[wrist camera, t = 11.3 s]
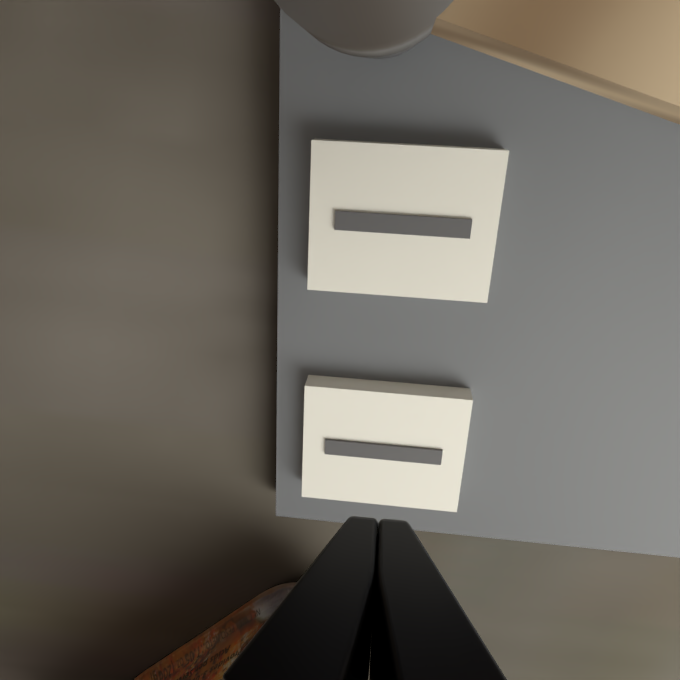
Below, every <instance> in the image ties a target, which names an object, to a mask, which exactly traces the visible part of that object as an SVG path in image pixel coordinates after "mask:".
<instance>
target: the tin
mask: <svg viewBox="0 0 680 680" xmlns="http://www.w3.org/2000/svg"><path fill="white" fill-rule="evenodd" d="M295 584H296V582H295V583H284V584H280V585H278V586H275V587H272V588H270V589H268V590H266V591H264V592H263V593H261V594H259V595H258V596H256V597H255V598H253V599H252V600H250V601H249V602H247V603H246V604H244V605H243V606H241V607H240V608H238V609H237V610H235V611H234V612H232V613H231V614H229V615H228V616H226V617H225V618H223V619H222V620H220V621H219V622H218V623H216V624H214V625H213V626H212V627H210V628H208V629H207V630H205V631H204V632H203V633H201V634H200V635H198V636H197V637H195V638H194V639H192V640H191V641H189V642H188V643H186V644H185V645H183V646H181V647H180V648H178V649H177V650H175V651H174V652H172V653H171V654H169V655H168V656H166V657H165V658H163V659H162V660H160V661H159V662H157V663H156V664H154V665H153V666H151V667H150V668H148V669H147V670H145V671H144V672H143V673H141V674H140V675H139V676H137V677H136V678H135V679H134V680H219V679H223V674H224V673H225V672H226V670H227V669H228V668H229V667H230V665H231V664H232V663H233V662H234V660H235V659H236V658H237V657H238V655H239V654H240V653H241V652H242V650H243V649H244V648H245V647H246V645H247V644H248V643H249V642H250V640H251V639H252V638H253V637H254V635H255V634H256V633H257V632H258V630H259V629H260V628H261V627H262V625H263V624H264V623H265V622H266V620H267V619H268V618H269V617H270V615H271V614H272V613H273V612H274V610H275V609H276V608H277V607H278V605H279V604H280V603H281V602H282V600H283V599H284V598H285V597H286V595H287V594H288V593H289V592H290V590H291V589H292V588H293V587H294V585H295Z"/></svg>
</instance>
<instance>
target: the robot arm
mask: <svg viewBox="0 0 680 680" xmlns="http://www.w3.org/2000/svg"><path fill="white" fill-rule="evenodd" d="M371 635H372V636H371ZM370 650H371V654H370ZM369 665H370V679H369V680H507V679H506V677H505V676H504V674H503V673H502V671H501V669H500V668H499V666H498V665H497V663H496V661H495V660H494V658H493V657H492V655H491V653H490V652H489V650H488V649H487V647H486V646H485V644H484V642H483V641H482V639H481V638H480V636H479V634H478V633H477V631H476V630H475V628H474V626H473V625H472V623H471V622H470V620H469V618H468V617H467V615H466V614H465V612H464V610H463V609H462V607H461V606H460V604H459V602H458V601H457V599H456V598H455V596H454V594H453V593H452V591H451V590H450V588H449V586H448V585H447V583H446V582H445V580H444V578H443V577H442V575H441V574H440V572H439V570H438V569H437V567H436V566H435V564H434V562H433V561H432V559H431V558H430V556H429V555H428V553H427V551H426V550H425V548H424V547H423V545H422V543H421V542H420V540H419V539H418V537H417V535H416V534H415V532H414V531H413V529H412V527H411V526H410V524H409V523H408V522H407V521H405V520H396V519H381V520H380V521H379V523H378V521H377V519H376V518H373V517H361V516H351V517H349V518H348V519H347V520H346V522H345V523H344V524H343V525H342V527H341V528H340V529H339V530H338V532H337V533H336V534H335V535H334V537H333V538H332V539H331V540H330V542H329V543H328V544H327V545H326V547H325V548H324V549H323V550H322V552H321V553H320V554H319V555H318V557H317V558H316V559H315V560H314V562H313V563H312V564H311V565H310V567H309V568H308V569H307V570H306V572H305V573H304V574H303V575H302V577H301V578H300V579H299V580H298V582H297V583H296V584H295V585H294V587H293V588H292V589H291V590H290V592H289V593H288V594H287V595H286V597H285V598H284V599H283V600H282V602H281V603H280V604H279V605H278V607H277V608H276V609H275V610H274V612H273V613H272V614H271V615H270V617H269V618H268V619H267V620H266V622H265V623H264V624H263V625H262V627H261V628H260V629H259V630H258V632H257V633H256V634H255V635H254V637H253V638H252V639H251V640H250V642H249V643H248V644H247V645H246V647H245V648H244V649H243V650H242V652H241V653H240V654H239V655H238V657H237V658H236V659H235V660H234V662H233V663H232V664H231V665H230V667H229V668H228V669H227V670H226V672H225V673H224V674H223V679H219V680H368V676H369Z"/></svg>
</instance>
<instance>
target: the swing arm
mask: <svg viewBox="0 0 680 680" xmlns="http://www.w3.org/2000/svg"><path fill="white" fill-rule="evenodd" d="M274 1H275V2H276V3H277V4H278V5H279V7H280V8H281V9H282V10H283V11H284V12H285V13H286V14H287V15H288V16H289V17H290V18H292V19H293V20H294V21H295V22H296V23H298V24H299V25H300V26H301V27H302V28H304V29H305V30H306V31H307V32H308V33H310V34H311V35H312V36H313V37H314V38H316V39H317V40H318V41H319V42H321V43H323V44H324V45H326V46H327V47H329V48H331V49H334V50H336V51H338V52H340V53H344V54H347V55H351V56H357V57H364V58H368V57H383V56H389V55H393V54H396V53H399V52H402V51H404V50H406V49H409V48H411V47H413V46H415V45H416V44H418V43H419V42H421V41H422V40H424V39H426V38H427V37H428V36H429V35H430V34H432V35H435V36H438V37H441V38H443V39H446V40H449V41H452V42H454V43H457V44H460V45H463V46H465V47H468V48H471V49H474V50H476V51H479V52H482V53H485V54H487V55H490V56H493V57H496V58H498V59H501V60H504V61H507V62H509V63H512V64H515V65H518V66H520V67H523V68H526V69H529V70H531V71H534V72H537V73H539V74H542V75H545V76H548V77H550V78H553V79H556V80H559V81H561V82H564V83H567V84H570V85H572V86H575V87H578V88H581V89H583V90H586V91H589V92H592V93H594V94H597V95H600V96H603V97H605V98H608V99H611V100H614V101H616V102H619V103H622V104H625V105H627V106H630V107H633V108H636V109H638V110H641V111H644V112H647V113H649V114H652V115H655V116H657V117H660V118H663V119H666V120H668V121H671V122H674V123H677V124H679V125H680V0H274Z"/></svg>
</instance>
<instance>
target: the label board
mask: <svg viewBox="0 0 680 680" xmlns="http://www.w3.org/2000/svg"><path fill="white" fill-rule="evenodd" d="M276 516H283V517H293V518H302V519H312V520H322V521H331V522H341V523H345V522H346V520H347V519H348V518H349V517H351V516H361V517H373V518H376V519H377V521H378V523H379V521H380V520H381V519H396V520H405V521H407V522H408V523H409V524H410V526H411V527H412V529H413V530H418V531H428V532H438V533H447V534H457V535H467V536H476V537H486V538H496V539H505V540H515V541H525V542H534V543H544V544H554V545H563V546H573V547H583V548H592V549H602V550H612V551H621V552H631V553H641V554H650V555H660V556H670V557H679V558H680V125H679V124H677V123H674V122H671V121H668V120H666V119H663V118H660V117H657V116H655V115H652V114H649V113H647V112H644V111H641V110H638V109H636V108H633V107H630V106H627V105H625V104H622V103H619V102H616V101H614V100H611V99H608V98H605V97H603V96H600V95H597V94H594V93H592V92H589V91H586V90H583V89H581V88H578V87H575V86H572V85H570V84H567V83H564V82H561V81H559V80H556V79H553V78H550V77H548V76H545V75H542V74H539V73H537V72H534V71H531V70H529V69H526V68H523V67H520V66H518V65H515V64H512V63H509V62H507V61H504V60H501V59H498V58H496V57H493V56H490V55H487V54H485V53H482V52H479V51H476V50H474V49H471V48H468V47H465V46H463V45H460V44H457V43H454V42H452V41H449V40H446V39H443V38H441V37H438V36H435V35H432V34H430V35H429V36H428V37H427V38H426V39H424V40H422V41H421V42H419V43H418V44H416V45H415V46H413V47H411V48H409V49H406V50H404V51H402V52H399V53H396V54H393V55H389V56H383V57H368V58H364V57H357V56H351V55H347V54H344V53H340V52H338V51H336V50H334V49H331V48H329V47H327V46H326V45H324V44H323V43H321V42H319V41H318V40H317V39H316V38H314V37H313V36H312V35H311V34H310V33H308V32H307V31H306V30H305V29H304V28H302V27H301V26H300V25H299V24H298V23H296V22H295V21H294V20H293V19H292V18H290V17H289V16H288V15H287V14H286V13H285V12H284V11H283V10H282V9H281V8H280V81H279V199H278V318H277V436H276Z"/></svg>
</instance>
